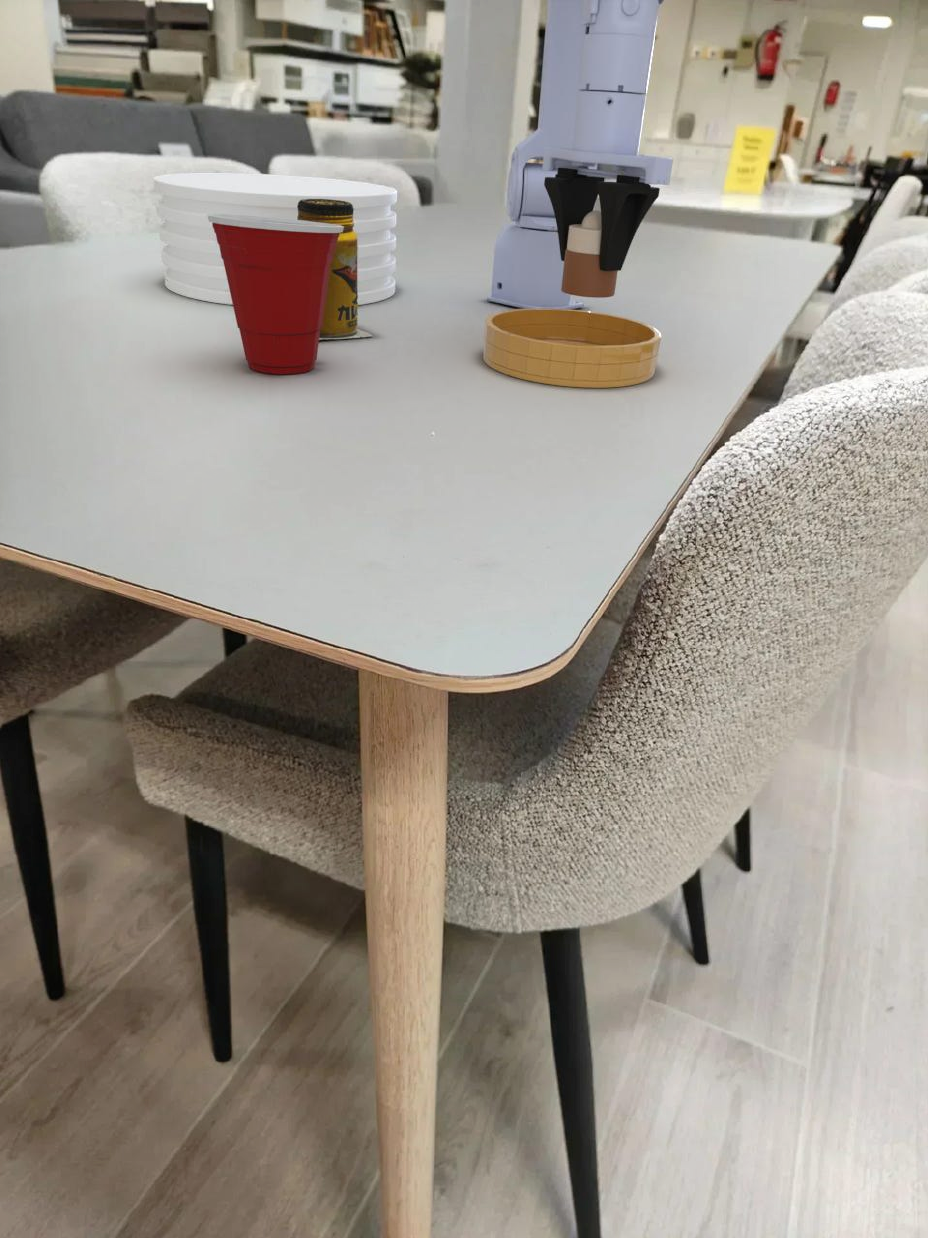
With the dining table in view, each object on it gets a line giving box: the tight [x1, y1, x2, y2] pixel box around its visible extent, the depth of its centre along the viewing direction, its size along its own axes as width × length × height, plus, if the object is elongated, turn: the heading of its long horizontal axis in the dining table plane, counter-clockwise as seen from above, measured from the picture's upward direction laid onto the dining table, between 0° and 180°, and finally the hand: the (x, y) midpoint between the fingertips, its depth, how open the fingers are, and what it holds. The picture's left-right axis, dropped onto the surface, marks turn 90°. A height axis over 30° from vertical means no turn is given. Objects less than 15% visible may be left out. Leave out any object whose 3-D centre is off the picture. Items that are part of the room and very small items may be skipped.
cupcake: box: [561, 210, 619, 299], centre depth 79 cm, size 5×5×7 cm
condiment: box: [297, 199, 373, 341], centre depth 84 cm, size 7×8×12 cm
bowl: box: [482, 308, 662, 389], centre depth 81 cm, size 16×16×4 cm
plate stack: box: [153, 172, 398, 306], centre depth 104 cm, size 28×28×12 cm
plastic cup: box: [207, 214, 344, 375], centre depth 72 cm, size 11×11×12 cm
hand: (590, 265), depth 79 cm, fingers closed on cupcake, 5 cm apart
